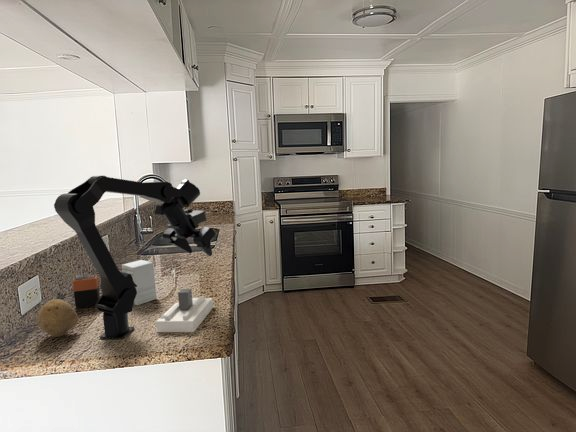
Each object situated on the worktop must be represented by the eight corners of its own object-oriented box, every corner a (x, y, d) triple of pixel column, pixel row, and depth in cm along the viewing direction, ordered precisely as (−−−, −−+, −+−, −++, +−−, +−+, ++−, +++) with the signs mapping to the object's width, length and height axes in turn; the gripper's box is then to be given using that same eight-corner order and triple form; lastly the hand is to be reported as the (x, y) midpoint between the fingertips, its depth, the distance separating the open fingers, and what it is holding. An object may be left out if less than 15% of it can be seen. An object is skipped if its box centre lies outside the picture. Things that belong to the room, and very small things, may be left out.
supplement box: (145, 295, 139) (141, 259, 137) (157, 299, 134) (153, 262, 132) (124, 301, 133) (120, 264, 131) (136, 305, 128) (132, 267, 127)
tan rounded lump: (32, 338, 107) (27, 302, 106) (66, 326, 114) (62, 292, 113) (50, 345, 102) (45, 307, 101) (84, 332, 109) (80, 297, 108)
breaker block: (193, 332, 106) (192, 317, 106) (157, 332, 107) (155, 317, 107) (213, 307, 124) (212, 294, 123) (181, 307, 125) (180, 295, 124)
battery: (78, 304, 133) (74, 274, 131) (100, 301, 135) (97, 272, 133) (75, 309, 128) (71, 278, 127) (98, 305, 130) (95, 275, 129)
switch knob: (189, 309, 113) (187, 292, 113) (179, 309, 114) (178, 292, 113) (192, 305, 116) (191, 289, 116) (183, 305, 117) (181, 289, 116)
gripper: (214, 201, 122) (235, 239, 130) (173, 200, 132) (195, 235, 141) (191, 225, 115) (216, 263, 123) (150, 222, 126) (175, 257, 134)
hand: (200, 253), depth 131 cm, fingers open, 9 cm apart
